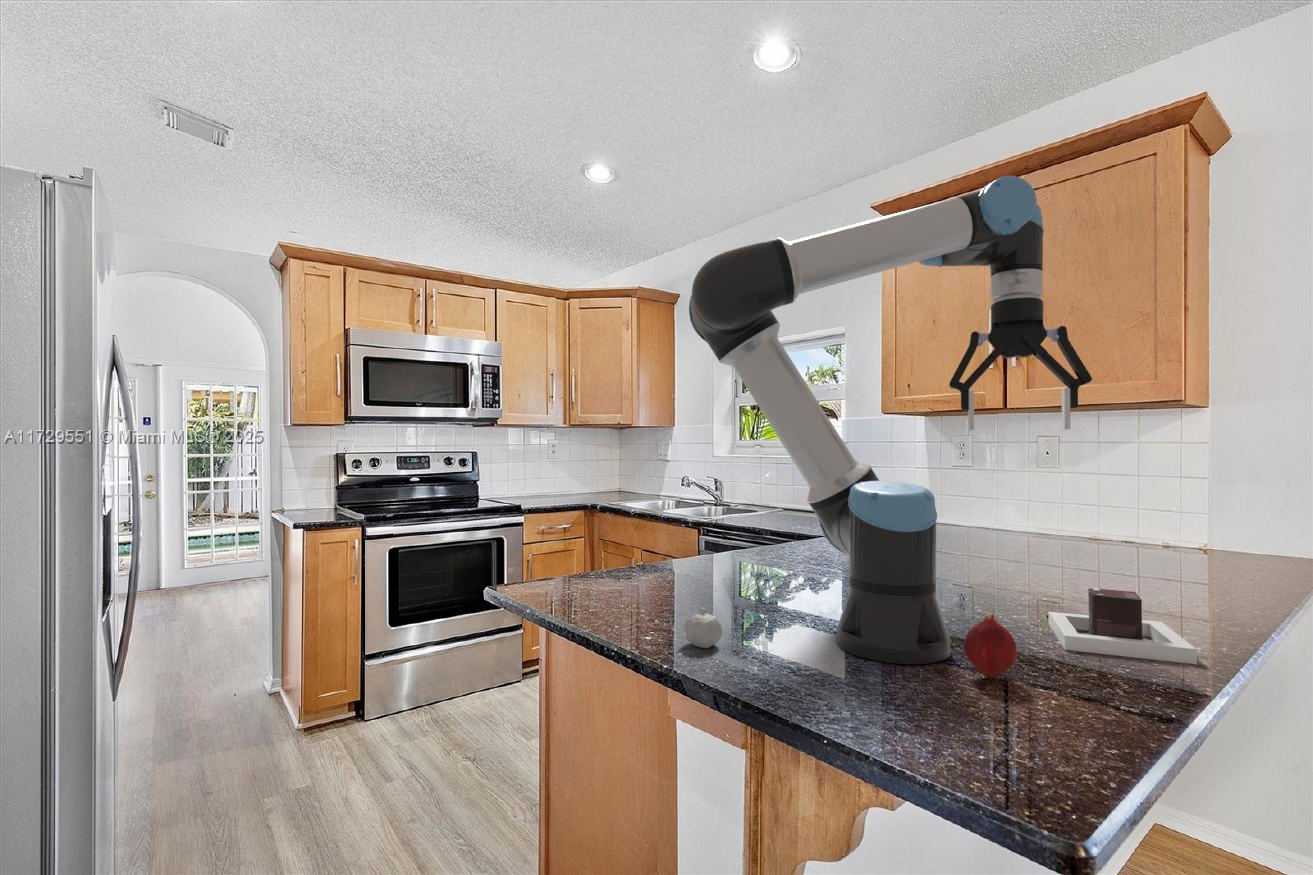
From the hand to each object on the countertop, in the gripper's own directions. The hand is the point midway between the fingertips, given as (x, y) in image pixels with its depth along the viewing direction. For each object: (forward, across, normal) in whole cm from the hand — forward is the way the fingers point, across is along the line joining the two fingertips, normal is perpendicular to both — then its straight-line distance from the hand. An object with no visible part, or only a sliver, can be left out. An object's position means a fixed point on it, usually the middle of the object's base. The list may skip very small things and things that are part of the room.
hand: (1017, 430), depth 105 cm
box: (+32, +12, -5) cm, 35 cm away
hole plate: (+32, +12, -5) cm, 34 cm away
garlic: (+32, -43, -32) cm, 62 cm away
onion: (+32, -6, -30) cm, 44 cm away
